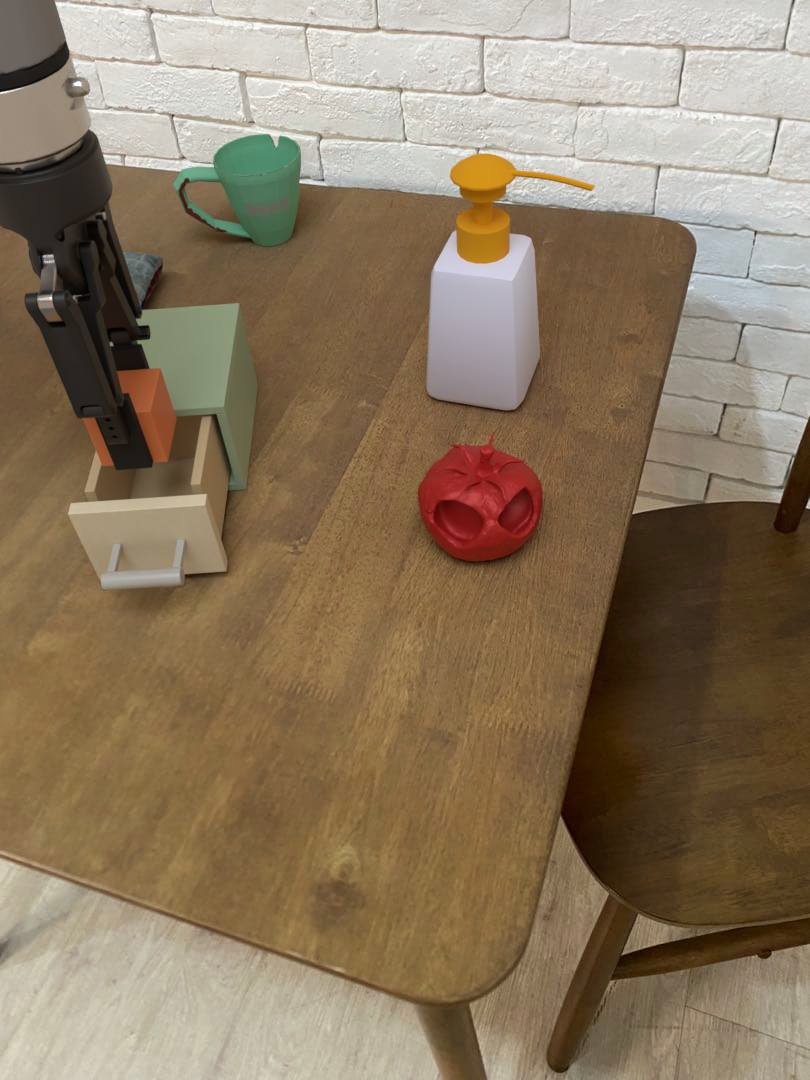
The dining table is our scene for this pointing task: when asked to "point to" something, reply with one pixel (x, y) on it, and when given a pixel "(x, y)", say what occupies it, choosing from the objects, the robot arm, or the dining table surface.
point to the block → (143, 413)
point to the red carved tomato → (480, 502)
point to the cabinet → (207, 372)
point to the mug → (251, 187)
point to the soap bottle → (485, 295)
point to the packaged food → (143, 273)
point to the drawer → (158, 512)
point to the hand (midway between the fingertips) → (140, 439)
